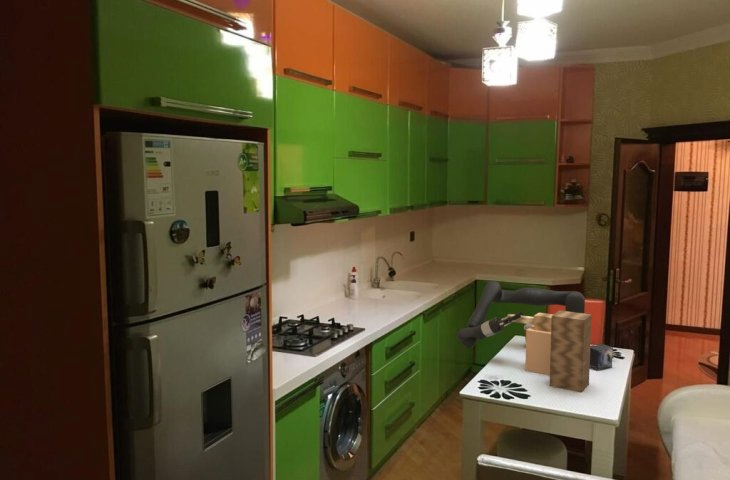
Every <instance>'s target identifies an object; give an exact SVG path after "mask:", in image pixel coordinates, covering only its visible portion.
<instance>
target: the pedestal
mask: <svg viewBox="0 0 730 480" xmlns="http://www.w3.org/2000/svg"><path fill="white" fill-rule="evenodd" d="M550 353H551V332H546V331H539V330H534V325H533V326H532V327H530V328H529V329H527V330H526V340H525V360H524V361H525V364H524V365H525V366H524V367H525V368H524V370H525V371H526V372H529V373H530V372H531V373H536V374H542V375H546V376H550Z"/></svg>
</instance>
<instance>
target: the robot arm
mask: <svg viewBox="0 0 730 480" xmlns="http://www.w3.org/2000/svg"><path fill="white" fill-rule="evenodd" d="M585 298H586V297H585V296H584V294H583V293H581V292H580V291H576V290H575V291H573V290H571V291H570V290H569V291H564V290H563V291H561V290H552V289H544V288H538V287H524V288H523V287H522V288H519V289H516V290H507V289H506V290H505V289H502V286H501V284H500V282H498V281H496V280H491V281H488V282H487V283H486V284H485V285H484V288H483V290H482V294H481V296H480V299H479V300H478V303H477V305H476V307H475V309H474V310H473V312H472V314H471V316H470V318H469V320H468V321H467V324H466V326H467V327H464V328H461V329H460V330H459V331H457V333H456V339H457V340H458V341H459V342H460V344H462V345H463V346H464V347H465V348H467V349H471V348H473V347H474V346H475V345H476V344H477V340H479V341H481V340H484V339H485V338H488V337H491V336H494V335H496V334H499V333H502V332H504V331H505V327H507V326H508V325H510V324H512V323H513V322H512V321H515V320H516V319H519V318H521V316H525V314H524V312H523V311H520V312H517V313H514V314H513V315H514V316H511V317H507V316H504V317H503V318H500V317H499V316H496V317H493V318H491V319H489V320H486V317H487V314H488V312H489V309H490V306H491V304H492V303H493V304H494V303H495V304H496V303H497V304H502V303H503V304H506V303H507V304H517V305H519V304H520V305H530V306H535V307H536V306H537V307H538V306H539V307H544V306H545V307H546V306H554V305H555V306H557V305H558V306H561V307H562V306H563V307H565V308H564V309H565V310H564V311H568V312H576V313H584V314H585V307H586V299H585ZM485 320H486V321H485Z"/></svg>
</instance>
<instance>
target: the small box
mask: <svg viewBox="0 0 730 480" xmlns="http://www.w3.org/2000/svg"><path fill="white" fill-rule="evenodd" d="M613 354H614V347H612V346H610V345H608V344H607V345H606V344H604V343H603V344H596V345H590V369H592V370H594V371H597V372H598V371H603V370H608V369H612V368H613Z"/></svg>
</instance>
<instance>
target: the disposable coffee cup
mask: <svg viewBox="0 0 730 480" xmlns="http://www.w3.org/2000/svg"><path fill="white" fill-rule="evenodd" d="M532 326H533V325H532V324H524V326H523V330H524V339H525V341H526V330H527V329H529V328H530V327H532Z"/></svg>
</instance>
